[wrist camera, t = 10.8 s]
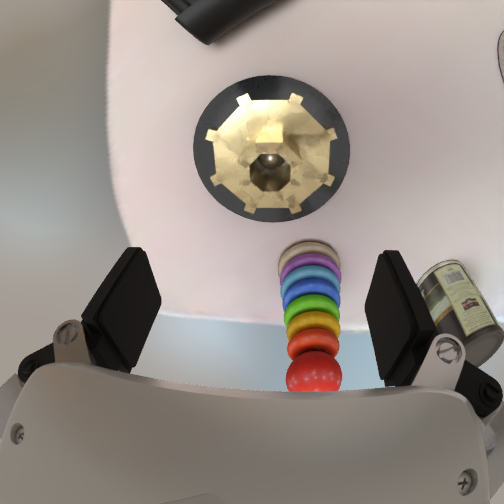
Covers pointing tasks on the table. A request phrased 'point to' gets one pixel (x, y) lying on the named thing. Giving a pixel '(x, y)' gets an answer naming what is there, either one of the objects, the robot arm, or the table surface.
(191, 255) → the table surface
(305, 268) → the stacking toy
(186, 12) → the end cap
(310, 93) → the plate
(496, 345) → the coffee can
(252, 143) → the tan faceted octagonal piece
